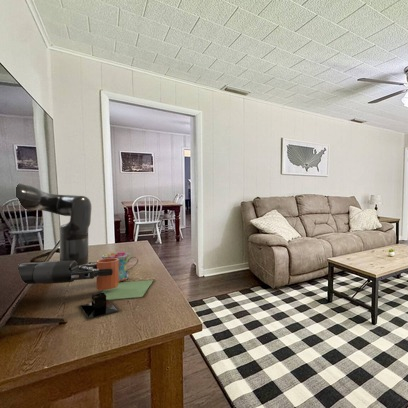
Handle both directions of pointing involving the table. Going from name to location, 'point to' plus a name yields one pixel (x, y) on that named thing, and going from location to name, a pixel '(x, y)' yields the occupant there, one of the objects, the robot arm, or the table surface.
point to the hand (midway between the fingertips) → (115, 269)
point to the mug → (121, 263)
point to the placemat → (128, 290)
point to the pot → (109, 280)
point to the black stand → (98, 306)
